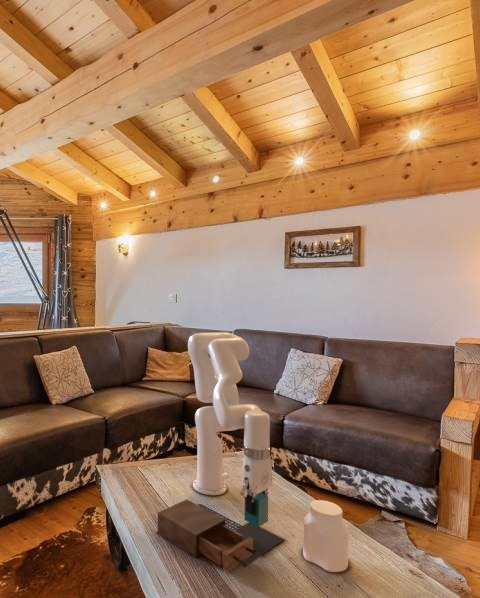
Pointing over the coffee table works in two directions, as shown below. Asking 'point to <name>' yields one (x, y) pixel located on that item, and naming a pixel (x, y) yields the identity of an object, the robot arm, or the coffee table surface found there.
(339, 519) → the jar
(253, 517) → the box
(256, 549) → the mat
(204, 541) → the drawer
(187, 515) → the cabinet
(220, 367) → the robot arm
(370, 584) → the coffee table surface
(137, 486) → the coffee table surface
